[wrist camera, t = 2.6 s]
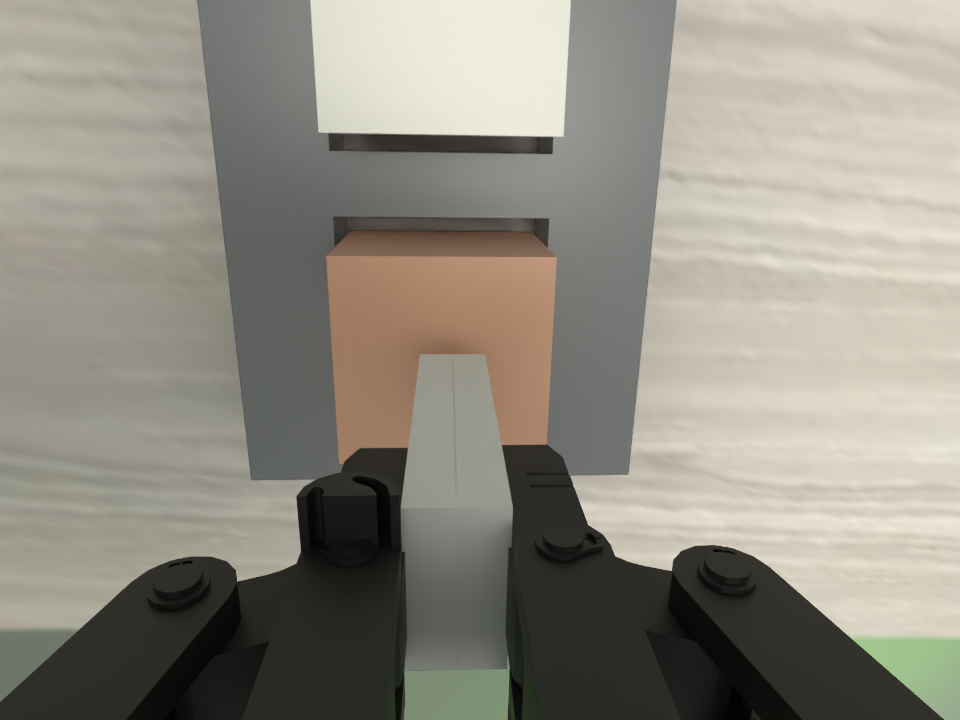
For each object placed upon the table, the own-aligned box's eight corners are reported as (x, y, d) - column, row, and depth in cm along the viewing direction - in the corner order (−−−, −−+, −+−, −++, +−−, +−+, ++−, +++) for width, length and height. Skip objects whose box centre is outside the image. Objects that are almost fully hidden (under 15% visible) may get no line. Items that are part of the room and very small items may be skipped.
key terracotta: (359, 398, 23) (338, 463, 18) (351, 230, 21) (326, 255, 17) (524, 396, 24) (545, 461, 19) (531, 231, 22) (557, 257, 17)
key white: (346, 134, 20) (318, 132, 16) (336, -88, 18) (300, -168, 14) (535, 137, 21) (563, 136, 16) (544, -81, 19) (579, -155, 14)
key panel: (271, 443, 26) (251, 480, 23) (168, -606, 17) (111, -760, 14) (608, 439, 27) (628, 474, 24) (697, -561, 17) (747, -698, 15)
